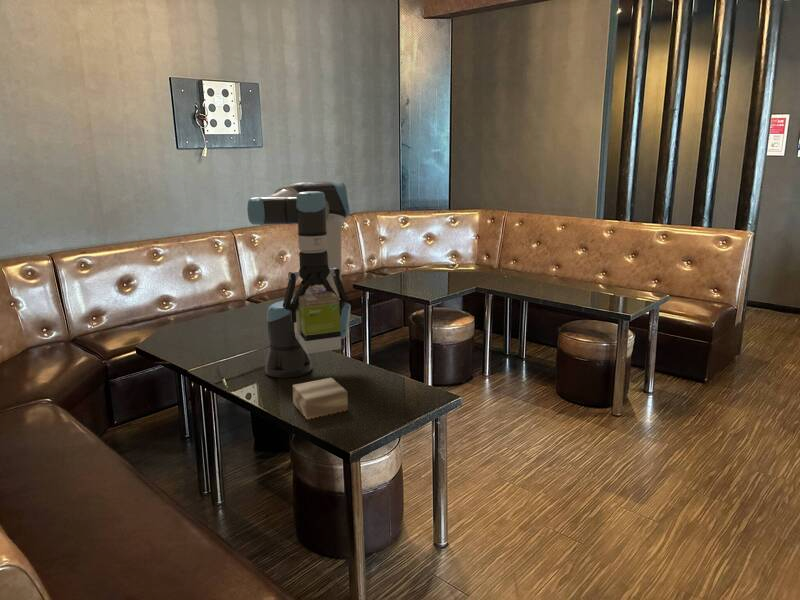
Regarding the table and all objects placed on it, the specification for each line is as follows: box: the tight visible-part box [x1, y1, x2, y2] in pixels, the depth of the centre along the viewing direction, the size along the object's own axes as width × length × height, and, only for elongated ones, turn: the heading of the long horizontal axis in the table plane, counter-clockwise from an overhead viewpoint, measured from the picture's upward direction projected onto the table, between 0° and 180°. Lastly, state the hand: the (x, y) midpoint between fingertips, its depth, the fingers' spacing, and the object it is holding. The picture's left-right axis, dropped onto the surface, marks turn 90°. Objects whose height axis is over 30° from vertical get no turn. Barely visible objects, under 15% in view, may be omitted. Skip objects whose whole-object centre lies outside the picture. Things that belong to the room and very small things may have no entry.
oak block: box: [292, 377, 349, 420], centre depth 170 cm, size 12×12×6 cm
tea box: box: [292, 286, 342, 355], centre depth 164 cm, size 15×10×15 cm, turn 21°
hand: (316, 330), depth 165 cm, fingers closed on tea box, 10 cm apart
